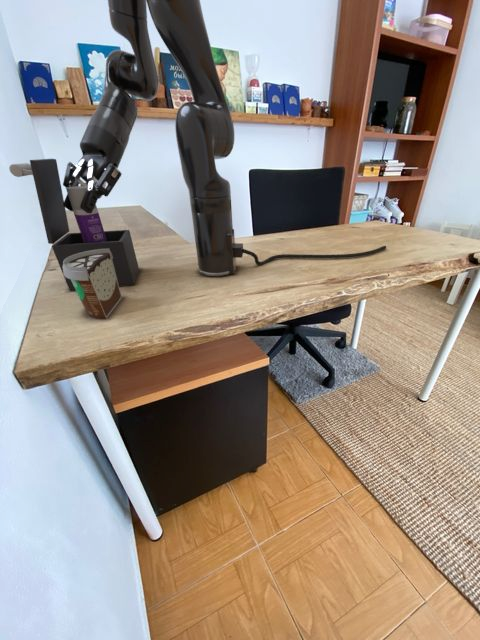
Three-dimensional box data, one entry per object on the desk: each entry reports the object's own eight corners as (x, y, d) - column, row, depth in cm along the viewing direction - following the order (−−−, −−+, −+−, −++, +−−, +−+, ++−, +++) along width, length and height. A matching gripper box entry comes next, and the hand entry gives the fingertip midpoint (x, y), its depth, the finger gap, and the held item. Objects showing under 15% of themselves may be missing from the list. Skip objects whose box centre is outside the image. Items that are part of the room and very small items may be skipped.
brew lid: (56, 159, 61) (25, 154, 60) (34, 160, 52) (-3, 155, 50) (69, 231, 69) (42, 228, 67) (52, 244, 60) (21, 241, 58)
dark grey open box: (139, 268, 77) (129, 229, 72) (134, 285, 68) (122, 241, 62) (83, 273, 74) (68, 233, 69) (69, 291, 65) (51, 246, 60)
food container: (94, 296, 63) (77, 248, 57) (124, 294, 63) (110, 247, 58) (68, 324, 53) (44, 269, 47) (103, 322, 53) (84, 268, 47)
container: (104, 263, 66) (80, 188, 58) (85, 262, 67) (59, 188, 59) (116, 257, 70) (95, 186, 62) (99, 256, 71) (76, 185, 62)
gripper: (68, 124, 62) (36, 195, 60) (117, 122, 57) (85, 199, 55) (97, 153, 69) (70, 218, 67) (143, 154, 64) (115, 224, 62)
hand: (77, 209), depth 61 cm, fingers closed on container, 4 cm apart
